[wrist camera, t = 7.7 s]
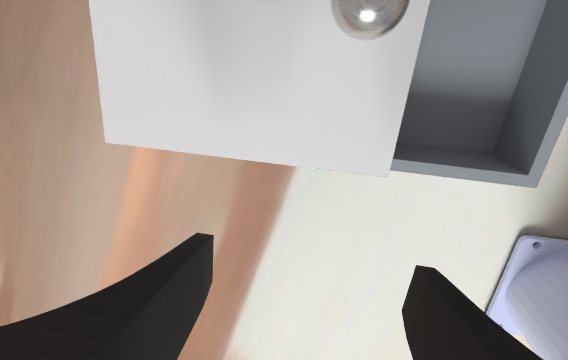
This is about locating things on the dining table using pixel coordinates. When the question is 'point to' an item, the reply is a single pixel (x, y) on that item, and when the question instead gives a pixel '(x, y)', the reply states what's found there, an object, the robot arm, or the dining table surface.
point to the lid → (259, 78)
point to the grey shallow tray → (486, 91)
